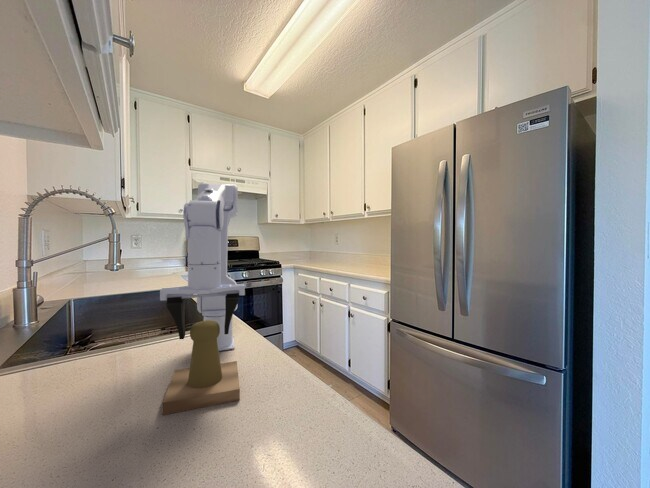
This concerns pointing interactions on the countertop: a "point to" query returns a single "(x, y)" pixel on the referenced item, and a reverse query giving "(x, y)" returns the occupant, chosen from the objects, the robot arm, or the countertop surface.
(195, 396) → the walnut base
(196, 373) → the olive tapered knobbed peg
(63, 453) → the countertop surface
